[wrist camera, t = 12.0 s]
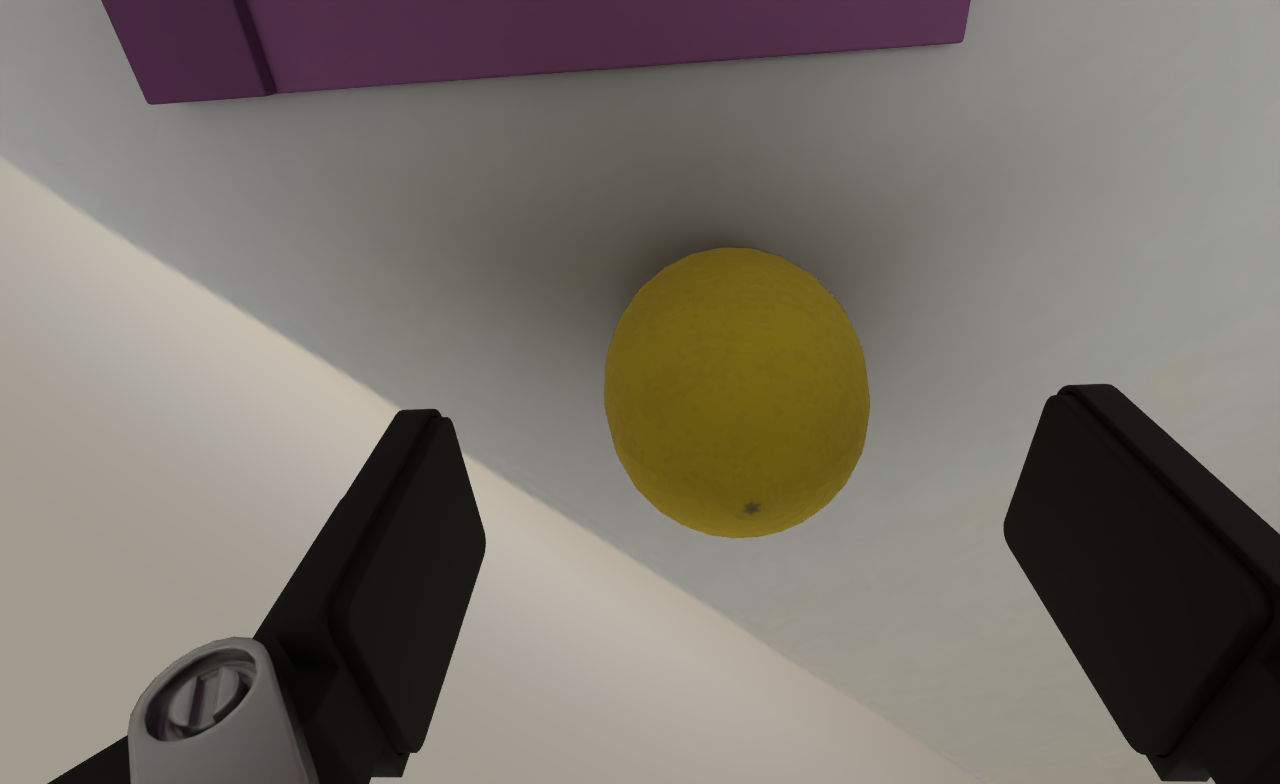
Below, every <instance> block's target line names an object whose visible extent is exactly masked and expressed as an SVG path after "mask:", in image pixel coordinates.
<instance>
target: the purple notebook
mask: <svg viewBox="0 0 1280 784" xmlns="http://www.w3.org/2000/svg"><path fill="white" fill-rule="evenodd" d="M102 3H103V5H104V7H105V9H106V12H107V14H108V16H109V18H110V21H111V23H112V25H113V27H114V29H115V32H116V34H117V36H118V38H119V41H120V43H121V45H122V47H123V50H124V52H125V54H126V56H127V59H128V61H129V63H130V65H131V68H132V70H133V72H134V74H135V77H136V79H137V81H138V83H139V86H140V88H141V90H142V92H143V95H144V97H145V99H146V101H147V103H148V104H151V105H154V104H167V103H181V102H194V101H208V100H221V99H235V98H248V97H262V96H268V95H273V94H278V93H291V92H305V91H318V90H332V89H345V88H359V87H372V86H386V85H399V84H413V83H426V82H440V81H453V80H467V79H480V78H494V77H507V76H521V75H534V74H548V73H561V72H575V71H588V70H602V69H615V68H629V67H642V66H656V65H669V64H683V63H696V62H710V61H723V60H737V59H750V58H764V57H777V56H791V55H804V54H818V53H831V52H845V51H858V50H872V49H885V48H899V47H912V46H926V45H939V44H953V43H960V42H962V41H963V39H964V34H965V28H966V22H967V17H968V11H969V6H970V0H102Z"/></svg>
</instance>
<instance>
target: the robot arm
mask: <svg viewBox="0 0 1280 784" xmlns="http://www.w3.org/2000/svg"><path fill="white" fill-rule="evenodd" d="M1004 536H1005V540H1006V542H1007V544H1008V546H1009V548H1010V550H1011V551H1012V553H1013V555H1014V556H1015V558H1016V559H1017V561H1018V563H1019V564H1020V566H1021V568H1022V569H1023V571H1024V573H1025V574H1026V576H1027V578H1028V579H1029V581H1030V583H1031V584H1032V586H1033V587H1034V589H1035V591H1036V592H1037V594H1038V596H1039V597H1040V599H1041V601H1042V602H1043V604H1044V606H1045V607H1046V609H1047V610H1048V612H1049V614H1050V615H1051V617H1052V619H1053V620H1054V622H1055V624H1056V625H1057V627H1058V629H1059V630H1060V632H1061V633H1062V635H1063V637H1064V638H1065V640H1066V642H1067V643H1068V645H1069V647H1070V648H1071V650H1072V652H1073V653H1074V655H1075V657H1076V658H1077V660H1078V661H1079V663H1080V665H1081V666H1082V668H1083V670H1084V671H1085V673H1086V675H1087V676H1088V678H1089V680H1090V681H1091V683H1092V684H1093V686H1094V688H1095V689H1096V691H1097V693H1098V694H1099V696H1100V698H1101V699H1102V701H1103V703H1104V704H1105V706H1106V707H1107V709H1108V711H1109V712H1110V714H1111V716H1112V717H1113V719H1114V721H1115V722H1116V724H1117V726H1118V727H1119V729H1120V731H1121V732H1122V734H1123V735H1124V737H1125V739H1126V740H1127V742H1128V743H1129V744H1130V746H1131V747H1132V748H1133V749H1134V750H1135V751H1136V752H1138V753H1140V754H1142V755H1146V756H1147V758H1148V760H1149V761H1150V763H1151V765H1152V766H1153V768H1154V769H1155V771H1156V773H1157V774H1158V776H1159V777H1160V779H1161V781H1200V782H1207V781H1208V779H1209V778H1210V777H1212V779H1213V780H1214V782H1215V783H1216V784H1280V534H1279V533H1277V532H1276V531H1275V530H1274V529H1273V528H1272V527H1271V526H1270V525H1269V524H1267V523H1266V522H1265V521H1264V520H1263V519H1262V518H1261V517H1260V516H1259V515H1257V514H1256V513H1255V512H1254V511H1253V510H1252V509H1251V508H1250V507H1249V506H1247V505H1246V504H1245V503H1244V502H1243V501H1242V500H1241V499H1240V498H1238V497H1237V496H1236V495H1235V494H1234V493H1233V492H1232V491H1231V490H1230V489H1228V488H1227V487H1226V486H1225V485H1224V484H1223V483H1222V482H1221V481H1220V480H1218V479H1217V478H1216V477H1215V476H1214V475H1213V474H1212V473H1211V472H1209V471H1208V470H1207V469H1206V468H1205V467H1204V466H1203V465H1202V464H1201V463H1199V462H1198V461H1197V460H1196V459H1195V458H1194V457H1193V456H1192V455H1191V454H1189V453H1188V452H1187V451H1186V450H1185V449H1184V448H1183V447H1182V446H1180V445H1179V444H1178V443H1177V442H1176V441H1175V440H1174V439H1173V438H1172V437H1170V436H1169V435H1168V434H1167V433H1166V432H1165V431H1164V430H1163V429H1162V428H1160V427H1159V426H1158V425H1157V424H1156V423H1155V422H1154V421H1153V420H1151V419H1150V418H1149V417H1148V416H1147V415H1146V414H1145V413H1144V412H1143V411H1141V410H1140V409H1139V408H1138V407H1137V406H1136V405H1135V404H1134V403H1133V402H1131V401H1130V400H1129V399H1128V398H1127V397H1126V396H1125V395H1124V394H1122V393H1121V392H1120V391H1119V390H1118V389H1117V388H1115V387H1114V386H1112V385H1109V384H1088V385H1067V386H1065V387H1062V388H1061V389H1060V390H1059V391H1058V393H1057V395H1053V396H1051V397H1050V398H1049V399H1048V400H1047V401H1046V403H1045V406H1044V409H1043V412H1042V414H1041V417H1040V420H1039V423H1038V426H1037V429H1036V432H1035V434H1034V437H1033V440H1032V443H1031V446H1030V449H1029V452H1028V455H1027V457H1026V460H1025V463H1024V466H1023V469H1022V472H1021V475H1020V477H1019V480H1018V483H1017V486H1016V489H1015V492H1014V495H1013V497H1012V500H1011V503H1010V506H1009V509H1008V512H1007V515H1006V518H1005V521H1004ZM485 547H486V539H485V532H484V529H483V525H482V522H481V518H480V515H479V511H478V508H477V505H476V501H475V498H474V494H473V491H472V487H471V484H470V481H469V477H468V474H467V471H466V467H465V464H464V460H463V457H462V453H461V450H460V446H459V443H458V439H457V436H456V433H455V429H454V426H453V423H452V421H451V419H450V418H448V417H442V416H441V414H440V413H439V411H438V410H436V409H417V410H401V411H399V412H398V413H397V414H396V415H395V417H394V419H393V420H392V422H391V423H390V425H389V426H388V428H387V430H386V431H385V433H384V434H383V436H382V438H381V439H380V441H379V442H378V444H377V446H376V447H375V449H374V450H373V452H372V453H371V455H370V456H369V458H368V460H367V461H366V463H365V464H364V466H363V468H362V469H361V471H360V472H359V474H358V476H357V477H356V479H355V480H354V482H353V483H352V485H351V487H350V488H349V490H348V491H347V493H346V494H345V496H344V497H343V498H342V499H341V500H340V502H339V503H338V505H337V506H336V508H335V509H334V511H333V512H332V514H331V516H330V517H329V519H328V521H327V522H326V523H325V525H324V527H323V528H322V530H321V531H320V533H319V535H318V536H317V538H316V539H315V541H314V542H313V544H312V546H311V547H310V549H309V550H308V552H307V553H306V555H305V557H304V558H303V560H302V561H301V563H300V564H299V566H298V568H297V569H296V571H295V572H294V574H293V576H292V577H291V579H290V580H289V582H288V583H287V585H286V587H285V588H284V590H283V591H282V593H281V594H280V596H279V598H278V599H277V601H276V602H275V604H274V605H273V607H272V608H271V610H270V612H269V613H268V615H267V616H266V618H265V619H264V621H263V623H262V624H261V626H260V627H259V629H258V631H257V632H256V634H255V635H254V637H253V638H244V637H231V638H226V639H221V640H216V641H213V642H211V643H208V644H206V645H203V646H201V647H198V648H196V649H194V650H192V651H191V652H189V653H187V654H186V655H185V656H183V657H181V658H179V659H178V660H176V661H175V662H173V663H172V664H171V665H170V666H169V667H167V668H166V669H165V670H164V671H163V672H162V673H160V674H159V675H158V676H157V677H156V678H155V679H154V680H153V681H152V683H151V684H150V685H149V686H148V687H147V688H146V690H145V691H144V692H143V693H142V695H141V696H140V697H139V699H138V701H137V703H136V705H135V707H134V709H133V711H132V713H131V715H130V721H129V728H128V735H127V736H125V737H124V738H122V739H120V740H119V741H117V742H116V743H114V744H112V745H110V746H109V747H107V748H105V749H104V750H102V751H100V752H99V753H97V754H96V755H94V756H92V757H91V758H89V759H87V760H86V761H84V762H82V763H81V764H79V765H77V766H76V767H74V768H72V769H71V770H69V771H68V772H66V773H64V774H63V775H61V776H59V777H58V778H56V779H54V780H53V781H51V782H49V783H48V784H369V782H370V779H371V777H402V775H403V772H404V769H405V766H406V763H407V760H408V757H409V755H410V753H417V752H418V751H419V750H420V749H421V747H422V745H423V743H424V740H425V738H426V735H427V731H428V728H429V725H430V722H431V719H432V716H433V713H434V710H435V707H436V703H437V700H438V697H439V694H440V691H441V688H442V685H443V682H444V679H445V676H446V672H447V669H448V666H449V663H450V660H451V657H452V654H453V651H454V648H455V644H456V641H457V638H458V635H459V632H460V629H461V625H462V622H463V619H464V616H465V613H466V610H467V607H468V604H469V601H470V598H471V595H472V592H473V589H474V585H475V582H476V579H477V576H478V573H479V570H480V567H481V563H482V561H483V557H484V553H485Z"/></svg>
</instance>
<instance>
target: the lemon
mask: <svg viewBox="0 0 1280 784" xmlns="http://www.w3.org/2000/svg"><path fill="white" fill-rule="evenodd" d="M604 401H605V409H606V415H607V419H608V423H609V427H610V431H611V435H612V439H613V442H614V446H615V450H616V452H617V455H618V457H619V460H620V461H621V463H622V465H623V466H624V468H625V470H626V471H627V473H628V475H629V477H630V478H631V480H632V482H633V483H634V485H635V487H636V488H637V490H638V491H639V492H641V493H642V494H643V495H644V496H645V497H646V498H647V499H648V500H649V501H650V502H651V503H652V504H653V505H654V506H655V507H656V508H657V509H658V510H659V511H660V512H661V513H663V514H665V515H666V516H668V517H670V518H671V519H673V520H675V521H677V522H678V523H680V524H682V525H684V526H686V527H689V528H691V529H694V530H697V531H700V532H703V533H706V534H709V535H714V536H722V537H730V538H745V537H759V536H764V535H768V534H772V533H777V532H781V531H783V530H786V529H788V528H790V527H793V526H795V525H797V524H799V523H802V522H804V521H805V520H806V519H808V518H809V517H811V516H812V515H813V514H815V513H816V512H817V511H819V510H820V509H822V508H823V507H824V506H826V505H827V504H828V503H829V502H830V501H831V500H832V499H833V498H834V497H835V495H836V494H837V493H838V492H839V491H840V490H841V489H842V487H843V486H844V485H845V484H846V482H847V481H848V479H849V477H850V476H851V474H852V472H853V470H854V468H855V466H856V464H857V462H858V460H859V458H860V456H861V454H862V450H863V447H864V443H865V437H866V431H867V425H868V419H869V409H870V396H869V388H868V381H867V374H866V367H865V360H864V355H863V351H862V347H861V345H860V343H859V340H858V338H857V336H856V334H855V332H854V330H853V328H852V325H851V323H850V321H849V319H848V317H847V315H846V313H845V311H844V310H843V308H842V306H841V305H840V304H839V303H838V301H837V300H836V299H835V298H834V297H833V296H832V295H831V294H830V293H829V292H828V291H827V290H826V289H825V288H824V287H823V285H822V284H821V283H820V282H819V281H818V280H817V279H816V278H815V277H814V276H812V275H811V274H810V273H808V272H807V271H805V270H803V269H802V268H800V267H798V266H796V265H795V264H793V263H791V262H790V261H788V260H786V259H785V258H783V257H780V256H777V255H773V254H770V253H766V252H763V251H759V250H756V249H752V248H717V249H712V250H708V251H703V252H699V253H694V254H691V255H689V256H687V257H685V258H683V259H681V260H679V261H677V262H674V263H672V264H670V265H668V266H666V267H665V268H664V269H663V270H661V271H660V272H659V273H658V274H657V275H656V276H654V277H653V278H652V279H651V280H650V281H648V282H647V283H646V284H645V285H644V286H643V287H641V288H640V290H639V291H638V293H637V294H636V296H635V297H634V298H633V300H632V301H631V303H630V304H629V306H628V307H627V308H626V310H625V311H624V313H623V314H622V316H621V317H620V320H619V322H618V325H617V327H616V330H615V333H614V336H613V339H612V341H611V344H610V347H609V350H608V354H607V358H606V368H605V390H604Z"/></svg>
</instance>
